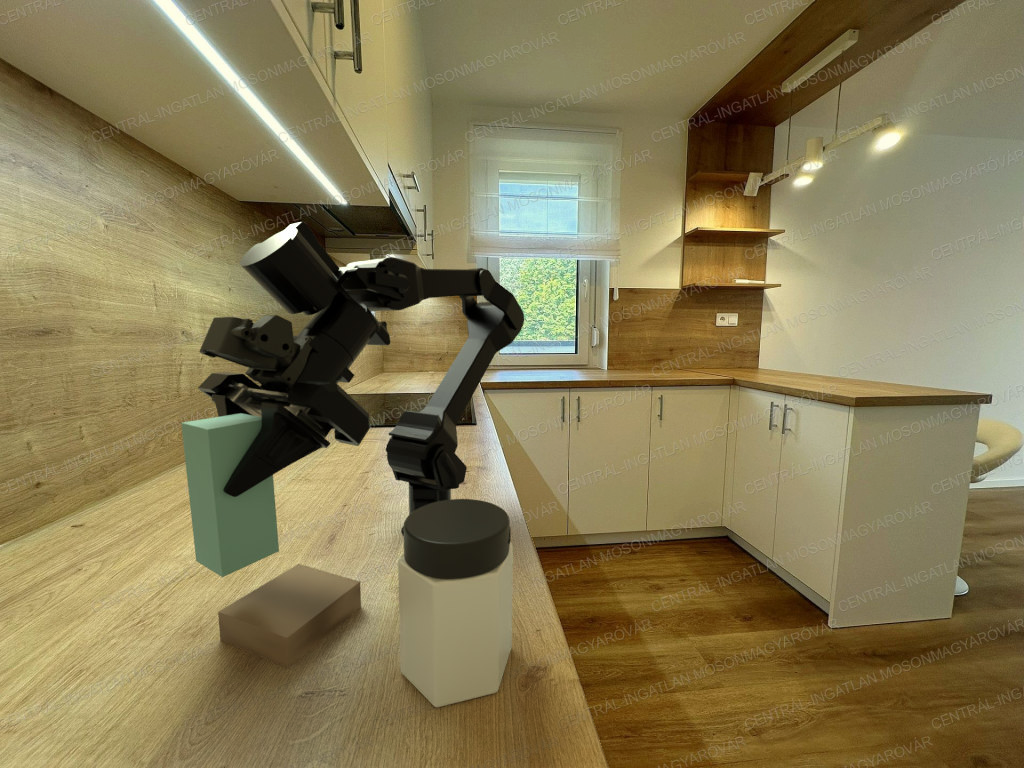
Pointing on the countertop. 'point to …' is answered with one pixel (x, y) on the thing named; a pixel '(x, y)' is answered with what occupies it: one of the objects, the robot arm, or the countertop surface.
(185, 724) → the countertop surface
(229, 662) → the countertop surface
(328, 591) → the walnut block
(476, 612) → the jar
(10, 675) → the countertop surface
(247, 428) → the teal block
